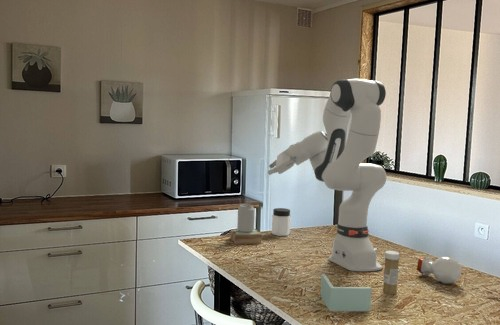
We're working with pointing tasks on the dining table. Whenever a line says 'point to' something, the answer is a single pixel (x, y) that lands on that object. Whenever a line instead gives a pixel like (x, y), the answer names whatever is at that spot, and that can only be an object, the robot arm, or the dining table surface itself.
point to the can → (245, 218)
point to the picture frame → (245, 237)
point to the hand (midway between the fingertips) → (269, 170)
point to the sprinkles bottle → (391, 272)
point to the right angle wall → (345, 297)
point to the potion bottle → (440, 269)
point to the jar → (281, 222)
